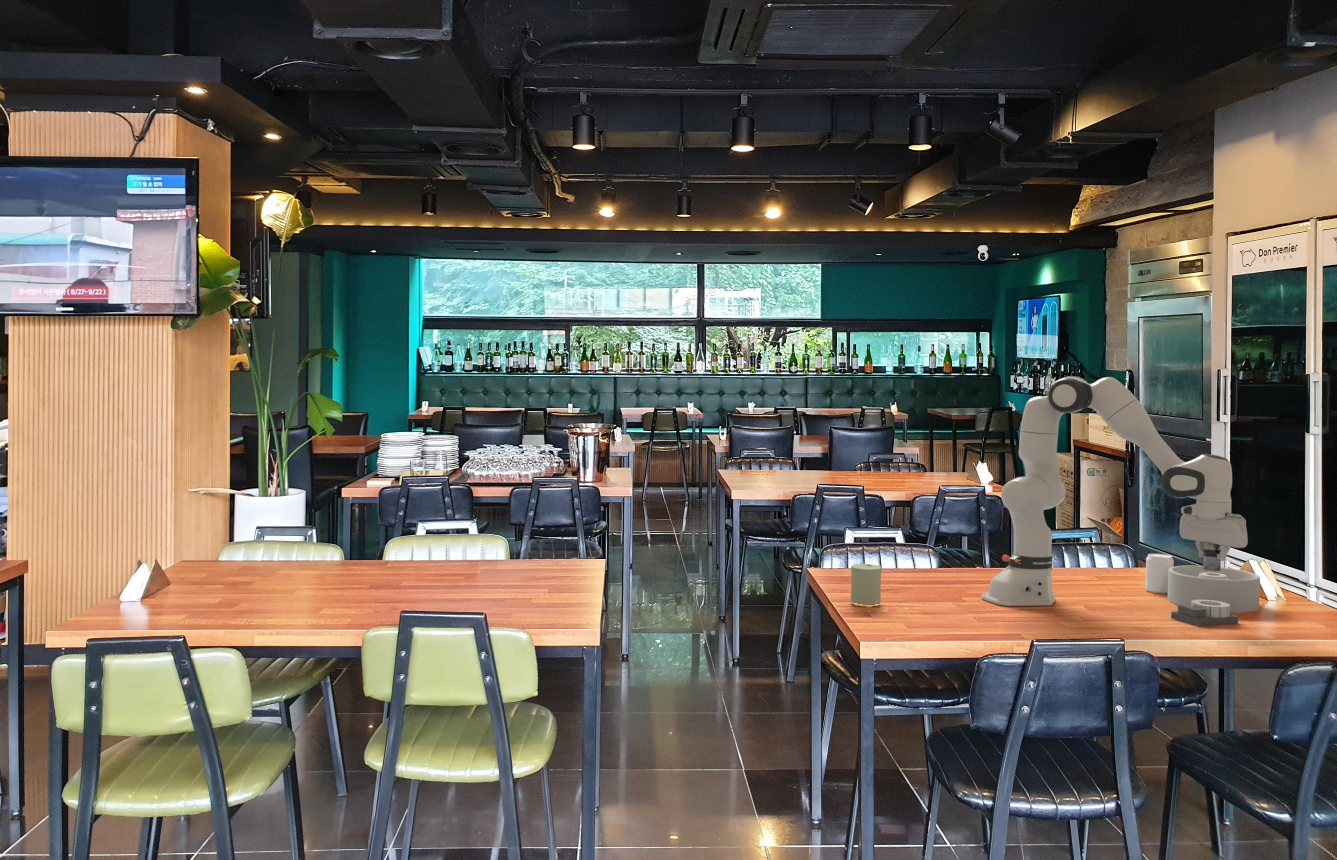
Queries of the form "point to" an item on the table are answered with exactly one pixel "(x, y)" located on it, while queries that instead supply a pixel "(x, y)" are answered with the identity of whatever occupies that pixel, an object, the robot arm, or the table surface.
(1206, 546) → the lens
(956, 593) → the table surface
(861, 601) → the can
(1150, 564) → the beverage can
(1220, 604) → the stepped dark base plate
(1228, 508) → the robot arm
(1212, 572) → the container
